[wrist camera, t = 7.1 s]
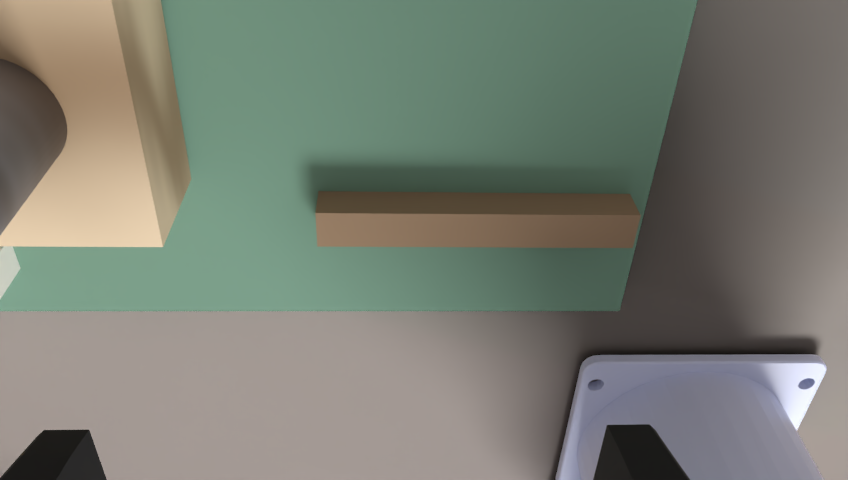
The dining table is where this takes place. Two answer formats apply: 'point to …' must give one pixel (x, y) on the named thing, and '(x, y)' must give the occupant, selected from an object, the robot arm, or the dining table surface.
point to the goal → (7, 267)
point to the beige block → (88, 125)
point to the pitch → (396, 159)
